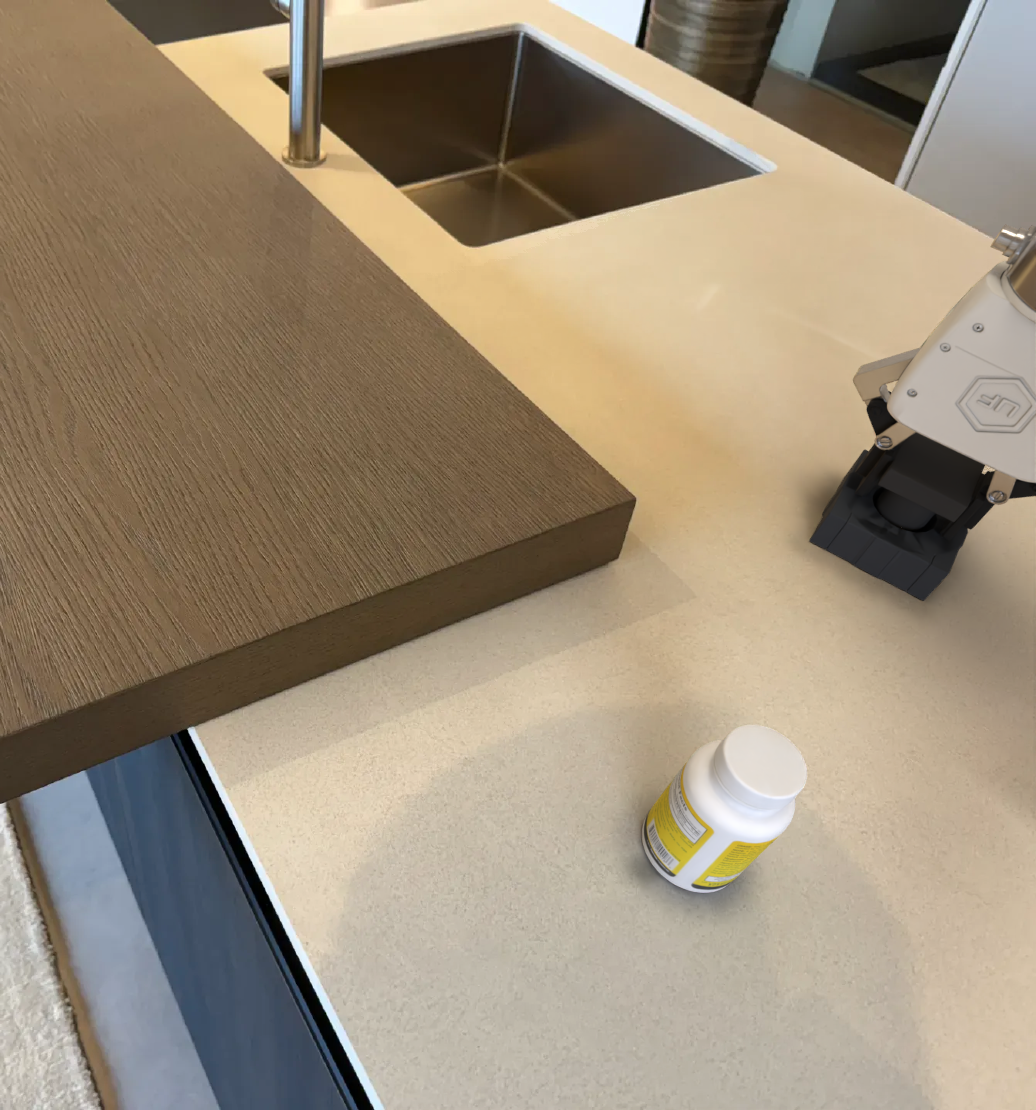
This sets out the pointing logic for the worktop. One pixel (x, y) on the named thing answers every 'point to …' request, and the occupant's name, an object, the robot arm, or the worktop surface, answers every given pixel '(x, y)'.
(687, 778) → the supplement bottle
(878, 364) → the robot arm
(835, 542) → the base pad
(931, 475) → the top pad
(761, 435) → the worktop surface
